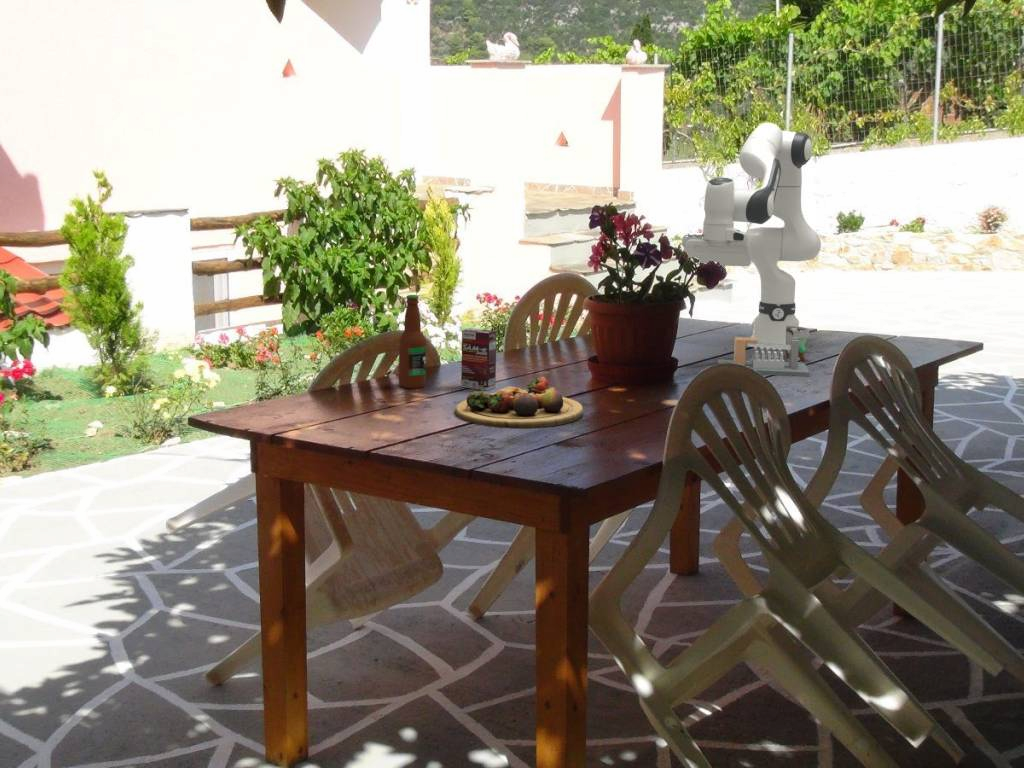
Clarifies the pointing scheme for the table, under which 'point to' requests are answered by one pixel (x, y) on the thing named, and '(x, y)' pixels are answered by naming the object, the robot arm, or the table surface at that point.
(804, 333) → the food container
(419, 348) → the bottle
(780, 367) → the heat sink
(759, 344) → the light grey flat bar
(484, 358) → the supplement box
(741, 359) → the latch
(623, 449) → the table surface
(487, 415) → the wooden plate with food
